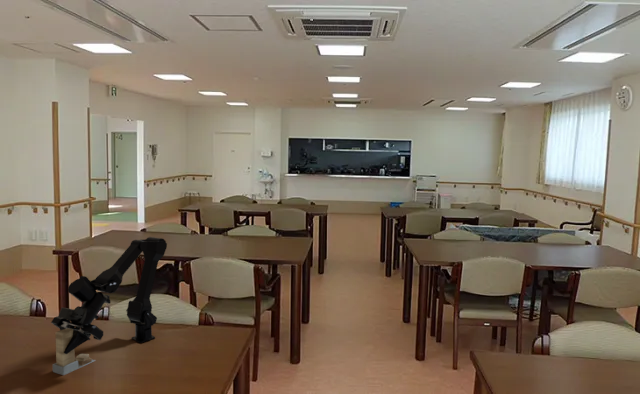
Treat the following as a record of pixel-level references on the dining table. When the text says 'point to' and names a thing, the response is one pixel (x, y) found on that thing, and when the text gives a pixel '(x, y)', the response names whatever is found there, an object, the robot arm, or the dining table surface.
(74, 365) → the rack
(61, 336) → the tan wooden block
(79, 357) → the offcut top
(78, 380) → the dining table surface
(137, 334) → the robot arm
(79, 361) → the offcut low
